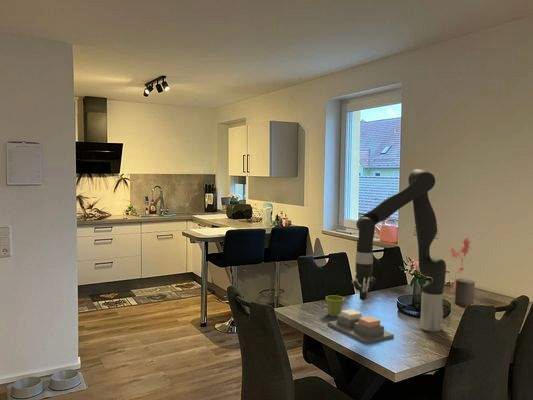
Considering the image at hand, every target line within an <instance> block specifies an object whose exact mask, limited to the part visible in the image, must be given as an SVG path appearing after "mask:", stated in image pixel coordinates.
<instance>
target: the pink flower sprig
mask: <svg viewBox="0 0 533 400" xmlns="http://www.w3.org/2000/svg"><path fill="white" fill-rule="evenodd" d="M462 241H463V245H462V247H461V248H460V250H459V251H456V249H455V248H453V247H450V253H451V256H452V258H456V259H458V257H459V258H460V259H461V264H463V263H464V262H463V260H464V259H463V258H462V256H461V254H463V257H466V254H469V249H470V250H471V251H473V250H472V248H471V247H470V244H471V243H470V239H469V237H468V236H466V238H465V239H463V240H462ZM463 270H464V267H463V265H460V266H458V271H457V272H455V277H454V279H455V280H454V283H453V287H452V288H451V290H450V291H449V292H450V293H452V292H453V290H455V291H456V279H457V274H458V273H461V272H462V271H463ZM446 294H449V293H448V292H446Z"/></svg>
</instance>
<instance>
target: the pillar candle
mask: <svg viewBox="0 0 533 400" xmlns="http://www.w3.org/2000/svg"><path fill="white" fill-rule="evenodd" d="M475 283H476V281H475V280H473V279H470V278H466V277H465V278H461V277H459V278H456V290H455V292H454V294H455V295H454V305H457V306H459V307H464V306H465V307H466V306H467V305H471V304H473V305H474V298H475V292H474V291H475V285H476V284H475Z"/></svg>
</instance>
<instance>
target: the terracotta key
mask: <svg viewBox="0 0 533 400" xmlns="http://www.w3.org/2000/svg"><path fill="white" fill-rule="evenodd" d="M358 324H360V325H362V326H364V327H367V328H373V327H378V326H380V325H381V320H380V319H378V318H375V317H373V316H371V315H368V316H361V318H359V321H358Z"/></svg>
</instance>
